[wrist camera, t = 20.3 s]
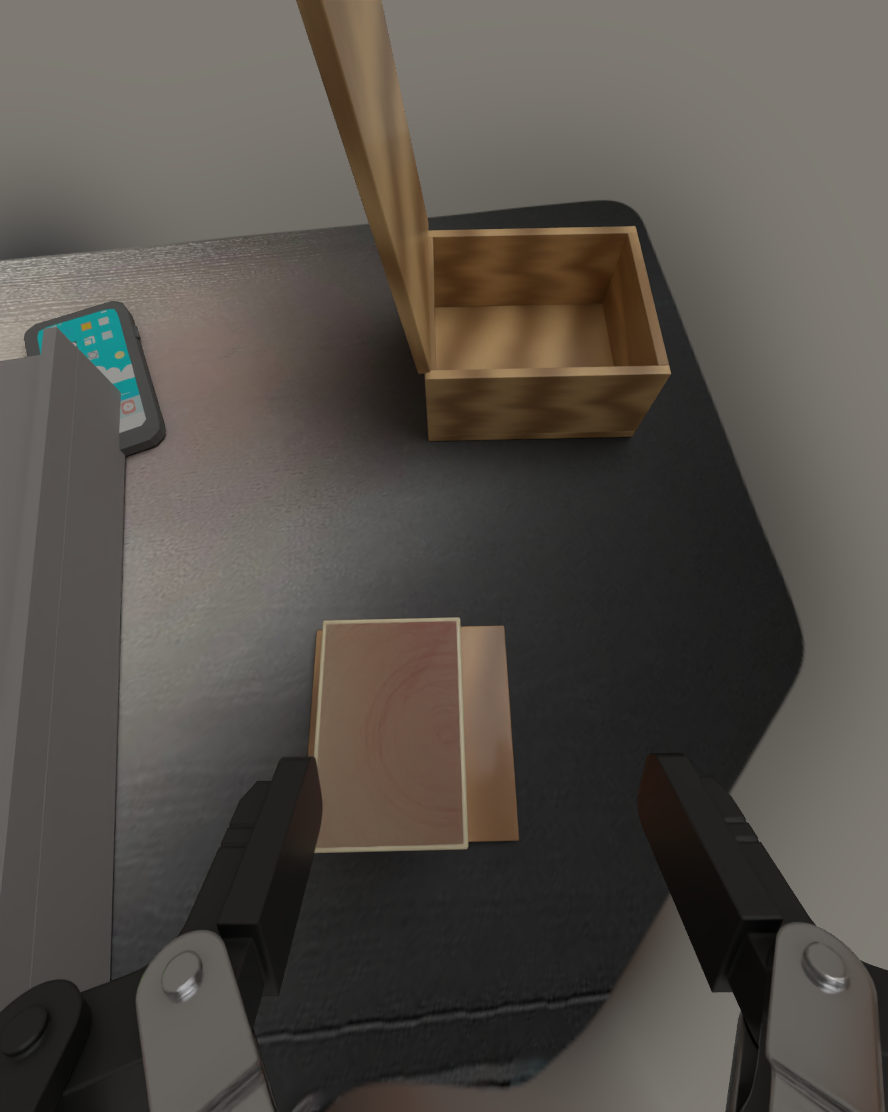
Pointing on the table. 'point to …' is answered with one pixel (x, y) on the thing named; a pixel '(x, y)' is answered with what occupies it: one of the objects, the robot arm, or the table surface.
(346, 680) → the biscuit tin
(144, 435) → the smartphone
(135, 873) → the table surface
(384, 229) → the chest lid
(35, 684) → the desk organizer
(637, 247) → the chest
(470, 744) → the wooden square board
